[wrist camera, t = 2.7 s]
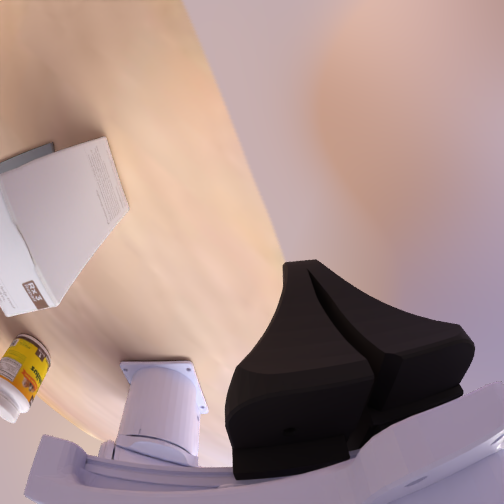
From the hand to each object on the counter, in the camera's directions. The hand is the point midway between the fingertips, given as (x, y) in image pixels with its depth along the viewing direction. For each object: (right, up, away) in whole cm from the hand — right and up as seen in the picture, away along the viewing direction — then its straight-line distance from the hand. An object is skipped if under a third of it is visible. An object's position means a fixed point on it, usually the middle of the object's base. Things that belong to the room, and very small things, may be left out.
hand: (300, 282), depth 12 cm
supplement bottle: (-28, -10, +15) cm, 34 cm away
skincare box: (-13, +6, +8) cm, 17 cm away
